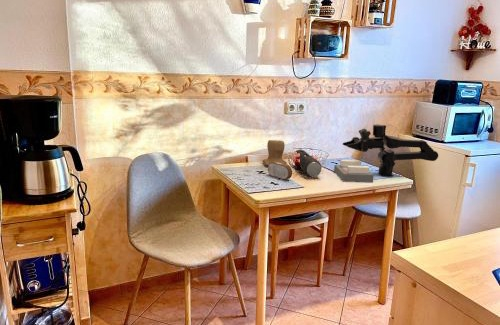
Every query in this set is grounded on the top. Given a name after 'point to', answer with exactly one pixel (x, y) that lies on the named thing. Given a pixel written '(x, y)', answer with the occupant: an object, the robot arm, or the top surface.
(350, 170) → the toggle
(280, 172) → the brown grey oval slab
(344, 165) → the toggle
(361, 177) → the switch box
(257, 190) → the top surface
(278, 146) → the brown flared block
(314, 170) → the dark grey cylinder
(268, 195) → the top surface
